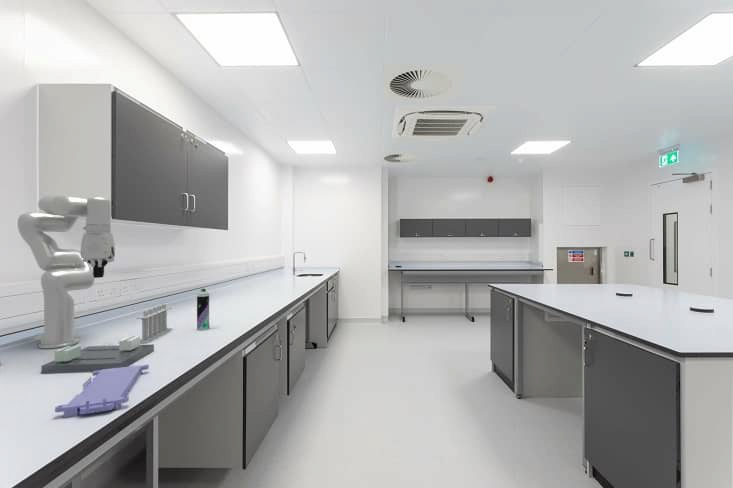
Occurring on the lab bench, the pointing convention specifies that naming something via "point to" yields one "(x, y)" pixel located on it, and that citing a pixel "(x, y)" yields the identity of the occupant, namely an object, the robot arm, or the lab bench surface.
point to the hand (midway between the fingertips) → (98, 277)
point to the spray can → (203, 310)
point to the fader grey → (129, 343)
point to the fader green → (67, 353)
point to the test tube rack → (154, 323)
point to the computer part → (103, 391)
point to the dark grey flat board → (98, 359)
